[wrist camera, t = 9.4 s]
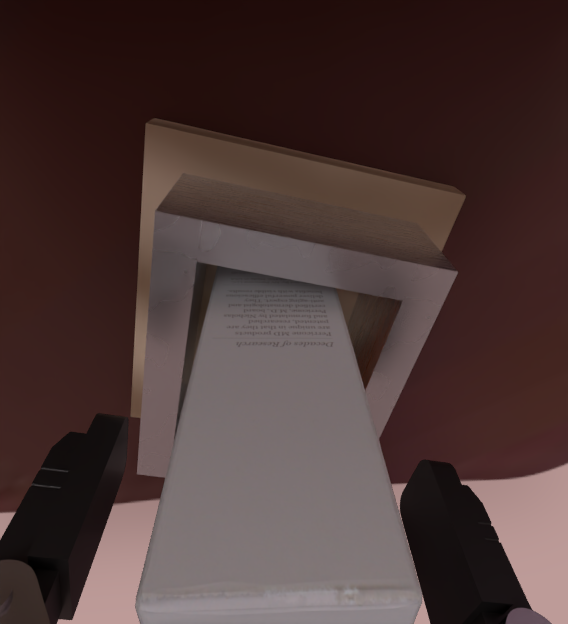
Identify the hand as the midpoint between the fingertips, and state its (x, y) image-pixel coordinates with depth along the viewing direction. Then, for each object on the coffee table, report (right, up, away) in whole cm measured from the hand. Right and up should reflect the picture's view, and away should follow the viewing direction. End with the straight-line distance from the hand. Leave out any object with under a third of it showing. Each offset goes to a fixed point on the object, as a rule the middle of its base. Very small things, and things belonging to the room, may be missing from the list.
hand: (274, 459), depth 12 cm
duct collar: (0, +4, +6) cm, 7 cm away
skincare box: (0, +4, +6) cm, 7 cm away
